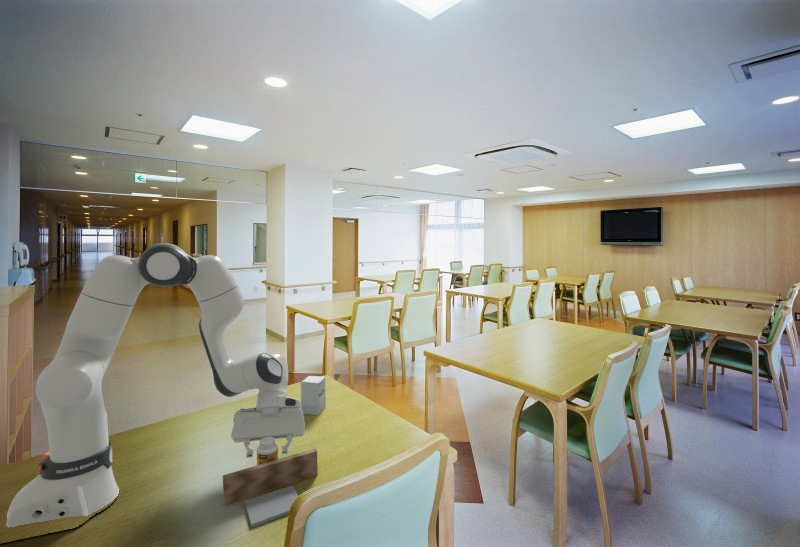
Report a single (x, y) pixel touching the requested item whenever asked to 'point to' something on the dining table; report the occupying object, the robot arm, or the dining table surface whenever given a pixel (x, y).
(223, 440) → the dining table surface
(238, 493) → the walnut screen
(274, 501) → the grey mat
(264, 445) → the supplement bottle
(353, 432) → the dining table surface
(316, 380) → the supplement box
